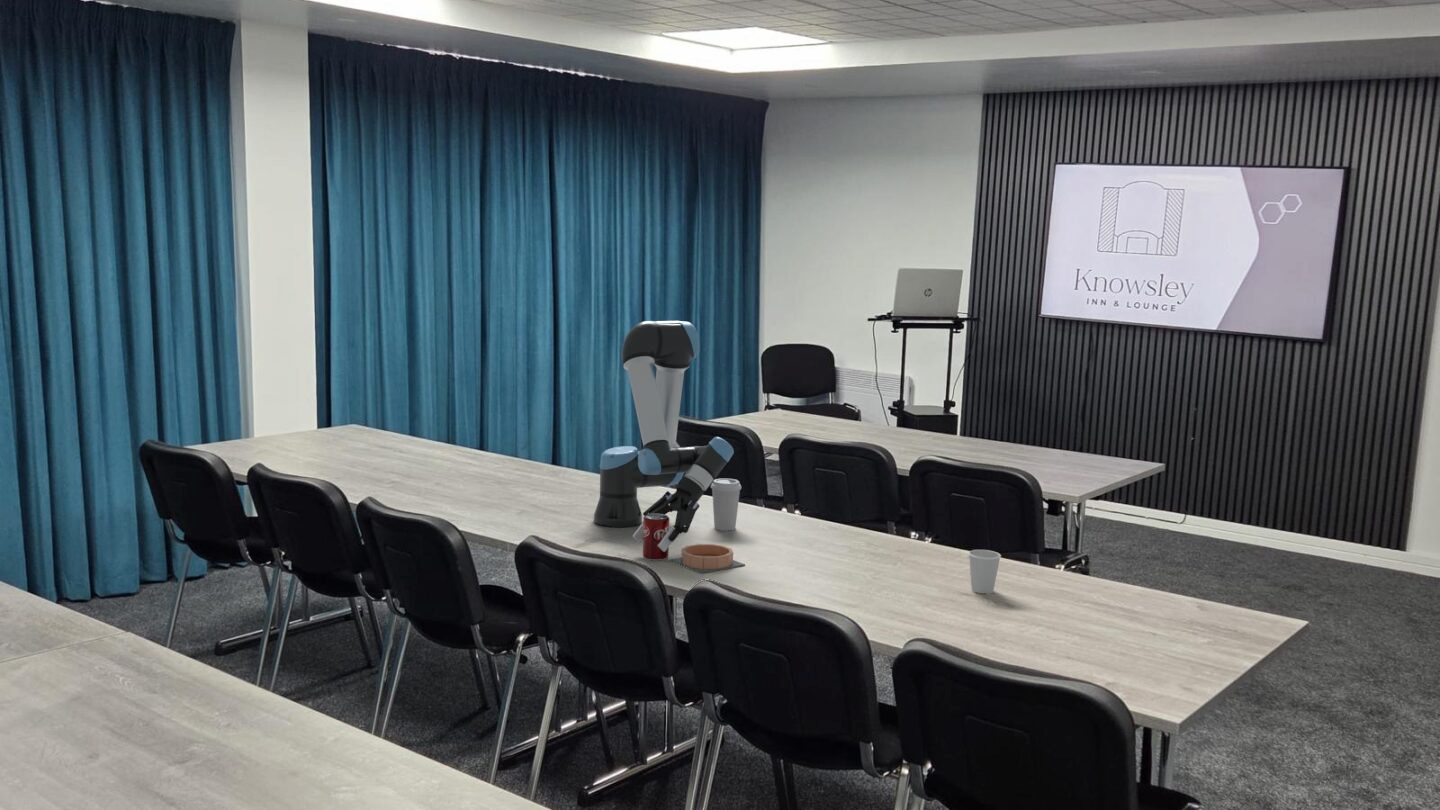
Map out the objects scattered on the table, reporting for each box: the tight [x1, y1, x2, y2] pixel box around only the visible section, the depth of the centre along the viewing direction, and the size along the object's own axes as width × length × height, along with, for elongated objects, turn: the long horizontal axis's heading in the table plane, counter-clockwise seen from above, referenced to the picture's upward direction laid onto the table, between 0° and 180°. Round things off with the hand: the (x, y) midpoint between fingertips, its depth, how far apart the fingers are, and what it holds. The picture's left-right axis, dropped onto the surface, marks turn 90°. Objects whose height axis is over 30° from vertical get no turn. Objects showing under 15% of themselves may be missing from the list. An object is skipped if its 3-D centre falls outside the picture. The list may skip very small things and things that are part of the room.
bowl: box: [668, 543, 746, 575], centre depth 329 cm, size 15×15×4 cm
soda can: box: [642, 513, 670, 562], centre depth 332 cm, size 7×7×12 cm
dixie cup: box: [968, 549, 1002, 595], centre depth 311 cm, size 8×8×10 cm
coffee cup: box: [710, 478, 742, 532], centre depth 369 cm, size 10×10×15 cm
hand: (648, 543), depth 331 cm, fingers open, 12 cm apart
